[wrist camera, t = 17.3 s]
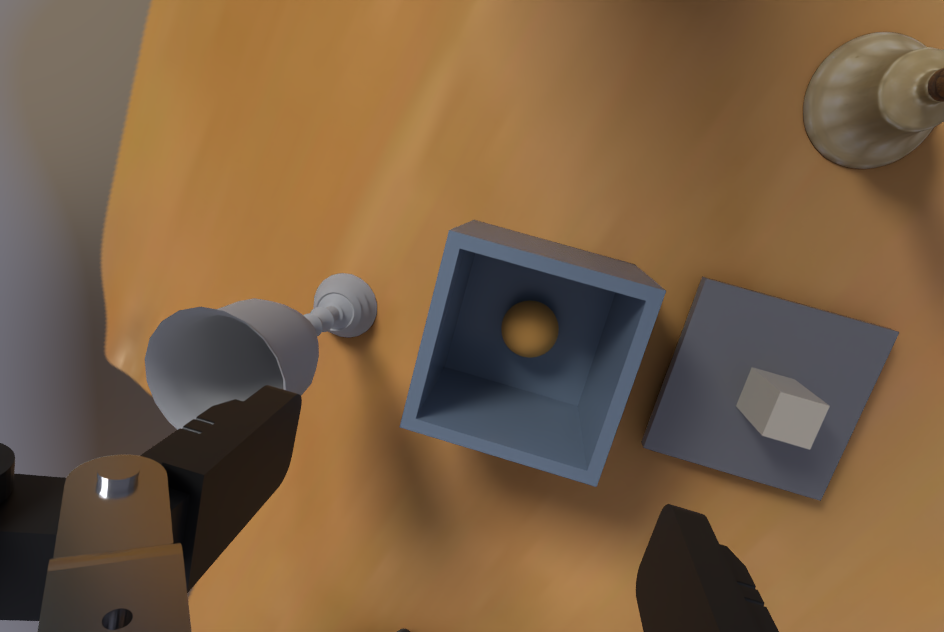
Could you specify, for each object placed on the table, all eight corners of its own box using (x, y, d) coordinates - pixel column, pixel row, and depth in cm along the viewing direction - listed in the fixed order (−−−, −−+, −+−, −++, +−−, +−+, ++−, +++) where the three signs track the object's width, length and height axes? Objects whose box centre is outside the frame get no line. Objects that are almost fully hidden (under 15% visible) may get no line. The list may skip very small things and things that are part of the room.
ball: (511, 288, 41) (508, 300, 38) (564, 303, 41) (567, 316, 37) (496, 339, 42) (492, 355, 39) (548, 354, 42) (550, 372, 38)
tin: (473, 219, 42) (449, 230, 31) (634, 264, 41) (666, 290, 30) (434, 370, 44) (399, 427, 34) (584, 414, 44) (596, 486, 33)
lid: (697, 274, 41) (729, 291, 34) (880, 324, 40) (951, 353, 33) (638, 435, 44) (656, 481, 37) (806, 485, 43) (857, 542, 36)
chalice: (408, 315, 44) (316, 398, 26) (345, 367, 45) (219, 478, 28) (345, 241, 43) (209, 276, 26) (283, 296, 45) (116, 364, 27)
